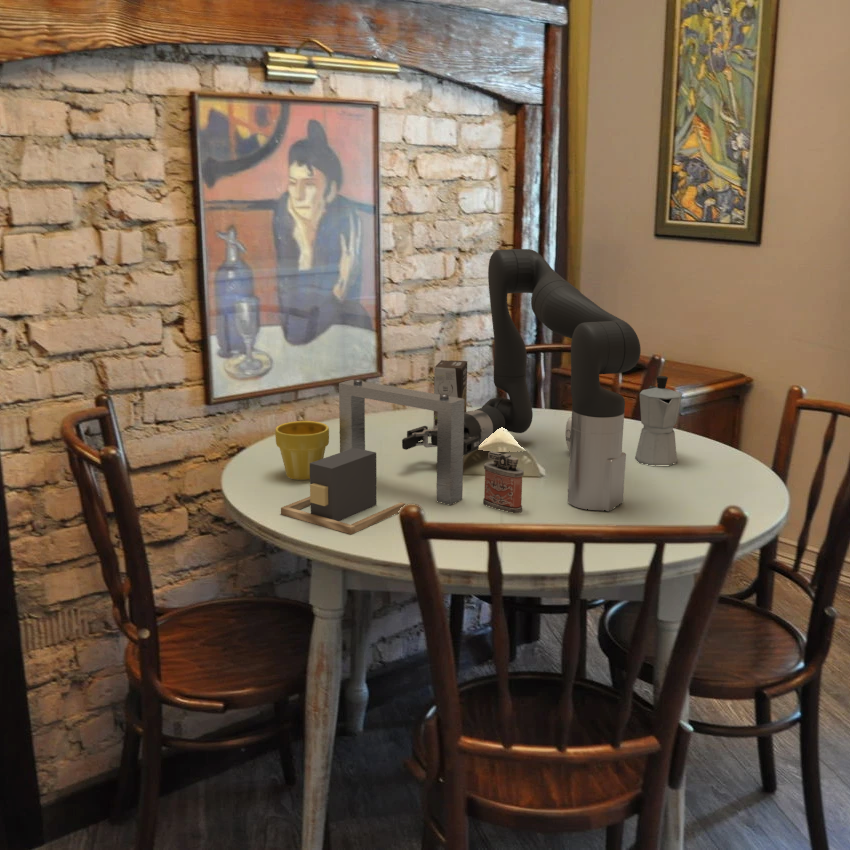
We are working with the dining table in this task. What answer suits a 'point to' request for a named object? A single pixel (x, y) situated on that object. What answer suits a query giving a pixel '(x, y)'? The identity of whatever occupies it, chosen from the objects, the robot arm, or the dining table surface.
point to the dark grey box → (343, 484)
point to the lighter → (503, 483)
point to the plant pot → (301, 446)
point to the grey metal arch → (446, 406)
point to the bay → (295, 512)
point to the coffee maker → (658, 424)
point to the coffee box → (450, 382)
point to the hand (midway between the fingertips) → (421, 448)
